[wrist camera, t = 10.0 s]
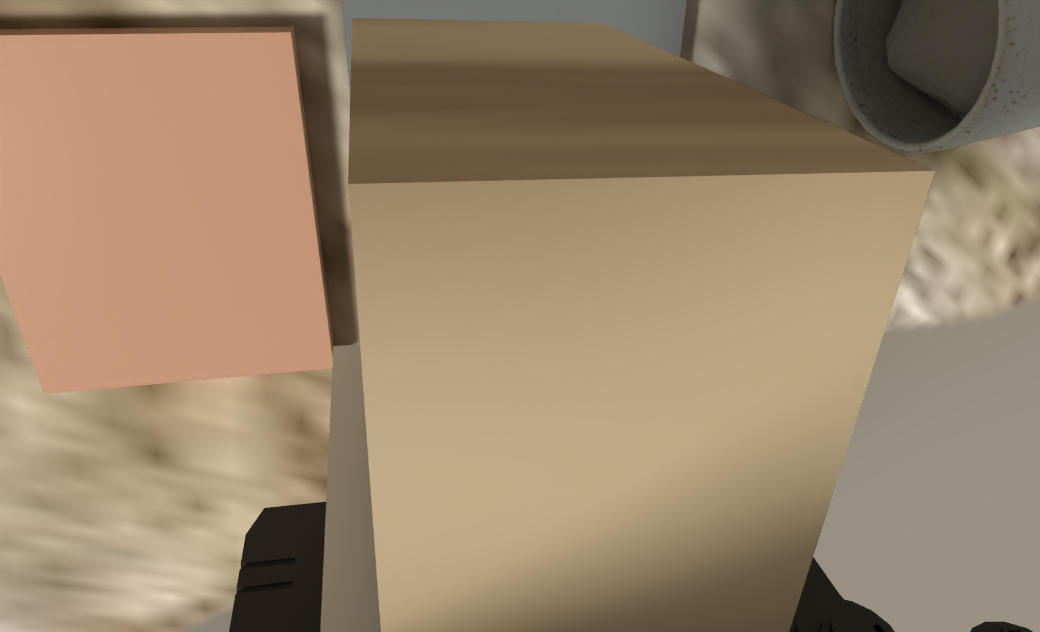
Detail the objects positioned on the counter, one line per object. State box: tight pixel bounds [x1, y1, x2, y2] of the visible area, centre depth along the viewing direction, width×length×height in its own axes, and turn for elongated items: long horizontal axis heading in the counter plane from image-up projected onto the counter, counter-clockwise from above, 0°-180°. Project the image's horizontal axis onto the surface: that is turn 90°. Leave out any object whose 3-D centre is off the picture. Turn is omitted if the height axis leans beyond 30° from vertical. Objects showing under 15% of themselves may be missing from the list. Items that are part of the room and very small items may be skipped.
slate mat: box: [342, 0, 687, 91], centre depth 27 cm, size 15×11×1 cm
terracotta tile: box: [0, 26, 334, 394], centre depth 25 cm, size 2×10×12 cm
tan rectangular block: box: [348, 18, 935, 632], centre depth 11 cm, size 13×10×8 cm
